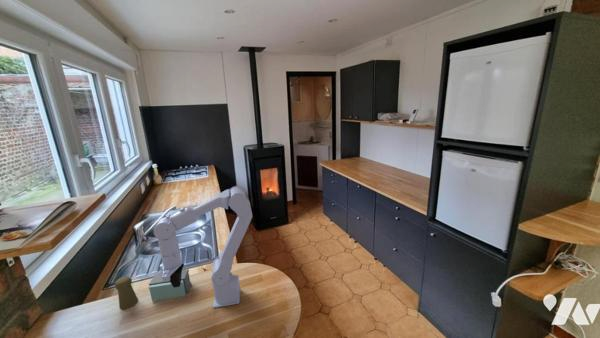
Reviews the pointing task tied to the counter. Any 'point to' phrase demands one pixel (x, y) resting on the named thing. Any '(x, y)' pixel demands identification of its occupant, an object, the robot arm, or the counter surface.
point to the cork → (125, 293)
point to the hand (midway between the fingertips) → (177, 285)
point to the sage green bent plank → (166, 291)
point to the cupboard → (158, 280)
